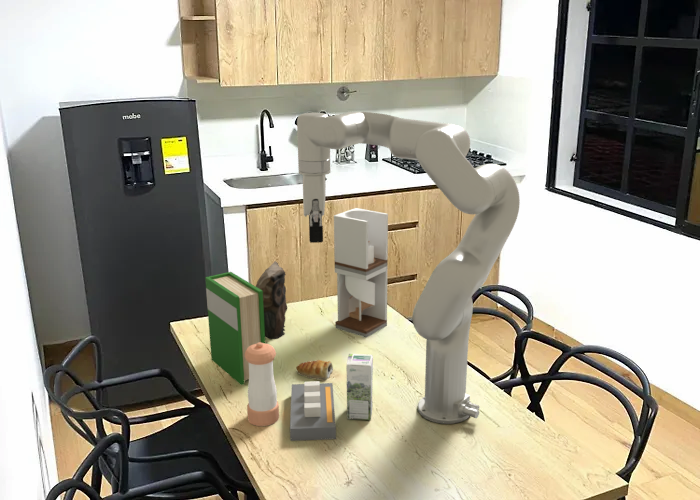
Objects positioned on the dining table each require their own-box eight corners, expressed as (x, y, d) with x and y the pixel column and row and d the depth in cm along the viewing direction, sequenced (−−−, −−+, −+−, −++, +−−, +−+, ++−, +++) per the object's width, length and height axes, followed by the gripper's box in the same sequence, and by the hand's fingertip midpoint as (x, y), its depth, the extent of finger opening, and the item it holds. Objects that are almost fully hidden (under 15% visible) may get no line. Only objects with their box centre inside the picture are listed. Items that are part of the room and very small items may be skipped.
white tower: (335, 328, 214) (333, 215, 203) (356, 316, 222) (356, 207, 211) (366, 337, 207) (366, 221, 197) (386, 325, 216) (387, 213, 205)
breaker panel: (292, 395, 176) (291, 384, 175) (332, 393, 177) (332, 382, 176) (290, 440, 157) (290, 428, 156) (335, 438, 158) (335, 426, 157)
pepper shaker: (283, 422, 164) (279, 346, 158) (252, 429, 162) (247, 352, 156) (274, 407, 171) (270, 334, 165) (244, 413, 168) (240, 339, 162)
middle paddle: (304, 401, 166) (304, 392, 165) (320, 400, 166) (319, 391, 165) (304, 405, 165) (304, 396, 163) (320, 405, 165) (320, 395, 164)
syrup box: (372, 408, 170) (373, 353, 166) (371, 421, 164) (371, 364, 160) (349, 407, 171) (348, 352, 166) (346, 420, 165) (345, 363, 160)
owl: (276, 319, 221) (273, 257, 215) (302, 331, 212) (300, 267, 206) (242, 330, 213) (239, 267, 206) (268, 344, 204) (265, 278, 198)
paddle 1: (304, 390, 171) (304, 381, 169) (319, 390, 171) (319, 381, 170) (304, 395, 170) (304, 385, 168) (319, 394, 170) (319, 385, 168)
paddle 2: (304, 412, 162) (304, 403, 160) (320, 412, 162) (320, 402, 160) (304, 417, 160) (304, 407, 159) (320, 416, 161) (320, 407, 159)
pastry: (293, 378, 185) (292, 364, 184) (300, 366, 191) (300, 353, 190) (327, 381, 183) (327, 368, 182) (334, 370, 189) (334, 357, 188)
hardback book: (266, 377, 185) (262, 290, 178) (241, 385, 181) (235, 297, 174) (235, 352, 199) (230, 271, 191) (211, 359, 195) (205, 277, 187)
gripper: (298, 159, 175) (300, 226, 181) (298, 174, 159) (300, 247, 164) (329, 159, 176) (330, 226, 181) (331, 173, 159) (332, 246, 165)
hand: (316, 236), depth 173 cm, fingers open, 9 cm apart
